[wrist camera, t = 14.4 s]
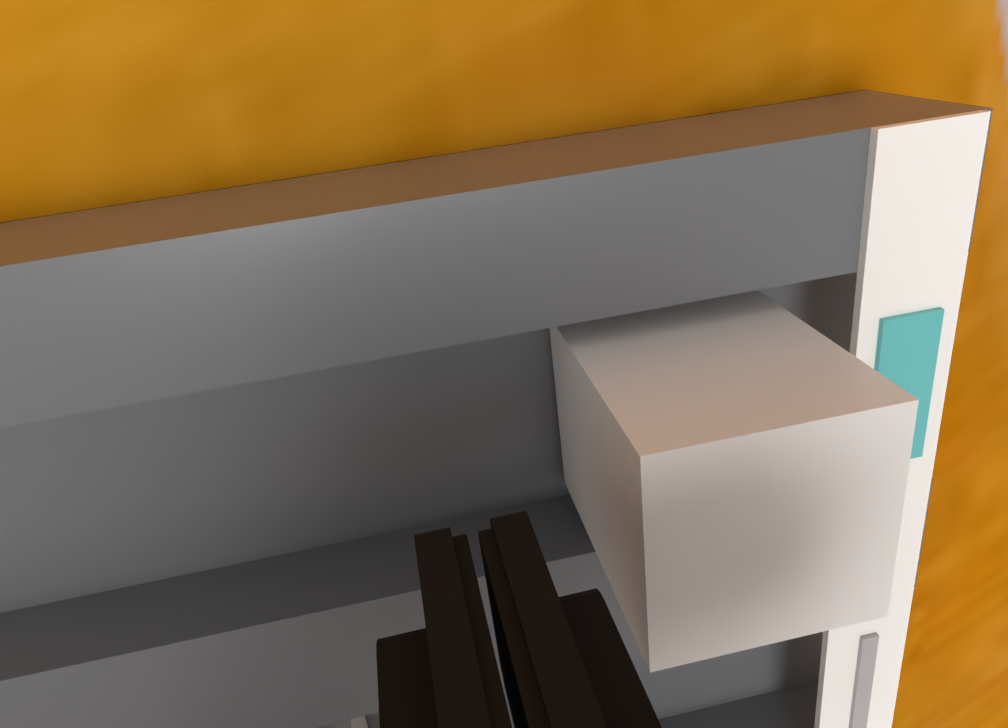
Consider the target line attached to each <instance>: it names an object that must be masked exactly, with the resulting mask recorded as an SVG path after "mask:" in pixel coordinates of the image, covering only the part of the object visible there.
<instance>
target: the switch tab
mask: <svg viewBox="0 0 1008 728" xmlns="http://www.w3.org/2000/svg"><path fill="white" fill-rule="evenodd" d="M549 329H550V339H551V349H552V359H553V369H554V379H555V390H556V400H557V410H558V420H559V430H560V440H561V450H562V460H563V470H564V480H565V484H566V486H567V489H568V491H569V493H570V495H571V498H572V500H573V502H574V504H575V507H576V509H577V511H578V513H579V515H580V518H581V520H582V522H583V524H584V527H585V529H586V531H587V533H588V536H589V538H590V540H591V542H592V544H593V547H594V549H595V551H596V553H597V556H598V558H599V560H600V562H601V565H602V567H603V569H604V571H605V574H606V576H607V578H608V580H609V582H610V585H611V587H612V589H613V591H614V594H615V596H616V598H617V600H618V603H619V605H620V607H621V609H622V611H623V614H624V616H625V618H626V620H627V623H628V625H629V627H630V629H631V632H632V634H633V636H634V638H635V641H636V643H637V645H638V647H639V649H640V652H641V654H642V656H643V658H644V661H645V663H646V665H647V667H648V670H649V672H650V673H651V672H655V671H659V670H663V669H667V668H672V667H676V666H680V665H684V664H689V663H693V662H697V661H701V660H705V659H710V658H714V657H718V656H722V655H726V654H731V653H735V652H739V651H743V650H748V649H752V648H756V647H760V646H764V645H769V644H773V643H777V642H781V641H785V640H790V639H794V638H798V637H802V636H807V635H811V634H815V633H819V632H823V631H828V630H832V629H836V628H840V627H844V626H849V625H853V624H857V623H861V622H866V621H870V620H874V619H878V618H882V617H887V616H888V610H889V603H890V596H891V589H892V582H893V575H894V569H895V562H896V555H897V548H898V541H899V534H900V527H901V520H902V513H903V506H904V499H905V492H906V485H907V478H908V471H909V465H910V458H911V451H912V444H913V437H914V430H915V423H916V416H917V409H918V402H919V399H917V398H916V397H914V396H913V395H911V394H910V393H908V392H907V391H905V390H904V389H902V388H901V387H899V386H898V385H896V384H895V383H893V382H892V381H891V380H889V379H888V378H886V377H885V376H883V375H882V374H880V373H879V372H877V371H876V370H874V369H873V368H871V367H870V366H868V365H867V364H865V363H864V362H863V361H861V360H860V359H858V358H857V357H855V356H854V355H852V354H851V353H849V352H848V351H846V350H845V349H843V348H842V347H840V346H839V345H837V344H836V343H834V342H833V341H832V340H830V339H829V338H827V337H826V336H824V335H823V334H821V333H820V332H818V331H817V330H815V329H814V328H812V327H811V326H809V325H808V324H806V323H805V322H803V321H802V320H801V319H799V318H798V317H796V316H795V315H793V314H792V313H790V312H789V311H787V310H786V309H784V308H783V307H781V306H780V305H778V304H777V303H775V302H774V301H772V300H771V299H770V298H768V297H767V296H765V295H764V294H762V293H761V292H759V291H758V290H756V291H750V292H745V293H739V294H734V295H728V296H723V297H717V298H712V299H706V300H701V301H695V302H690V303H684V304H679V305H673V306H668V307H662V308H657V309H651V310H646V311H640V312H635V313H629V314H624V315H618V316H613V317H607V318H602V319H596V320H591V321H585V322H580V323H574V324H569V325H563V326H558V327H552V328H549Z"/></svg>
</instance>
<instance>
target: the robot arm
mask: <svg viewBox="0 0 1008 728" xmlns="http://www.w3.org/2000/svg"><path fill="white" fill-rule="evenodd" d="M490 525H491V528H490V529H485V530H481V531H478V536H479V542H480V548H481V554H482V560H483V566H484V572H485V578H486V584H487V590H488V596H489V602H490V608H491V614H492V620H493V626H494V631H495V637H496V643H497V649H498V655H499V661H500V667H501V672H502V677H503V682H504V686H505V691H506V695H507V699H508V703H509V707H510V712H511V716H512V720H513V724H514V728H662V727H661V724H660V722H659V720H658V718H657V716H656V713H655V711H654V709H653V707H652V704H651V702H650V700H649V698H648V696H647V693H646V691H645V689H644V687H643V684H642V682H641V680H640V678H639V676H638V673H637V671H636V669H635V667H634V664H633V662H632V660H631V658H630V656H629V653H628V651H627V649H626V647H625V645H624V642H623V640H622V638H621V636H620V633H619V631H618V629H617V627H616V625H615V622H614V620H613V618H612V616H611V613H610V611H609V609H608V607H607V605H606V602H605V600H604V598H603V596H602V594H601V592H600V591H599V590H598V589H597V588H595V589H591V590H587V591H583V592H578V593H574V594H570V595H565V596H561V597H558V594H557V591H556V589H555V586H554V583H553V581H552V578H551V575H550V572H549V570H548V567H547V564H546V562H545V559H544V556H543V554H542V551H541V548H540V546H539V543H538V540H537V538H536V535H535V532H534V529H533V527H532V524H531V521H530V519H529V516H528V514H527V512H526V511H521V512H516V513H512V514H507V515H503V516H498V517H493V518H490ZM414 541H415V548H416V556H417V564H418V571H419V579H420V587H421V595H422V602H423V610H424V618H425V625H426V628H424V629H419V630H415V631H411V632H406V633H402V634H398V635H393V636H389V637H385V638H381V639H377V643H376V657H377V680H378V702H379V724H380V728H512V725H511V720H510V716H509V712H508V708H507V703H506V699H505V695H504V691H503V686H502V682H501V678H500V674H499V669H498V665H497V661H496V657H495V652H494V648H493V644H492V640H491V635H490V631H489V627H488V623H487V618H486V614H485V610H484V606H483V601H482V597H481V593H480V589H479V584H478V580H477V576H476V572H475V567H474V563H473V559H472V555H471V550H470V546H469V542H468V538H467V534H462V535H458V536H453V537H452V533H451V528H450V527H447V528H443V529H438V530H433V531H429V532H424V533H420V534H415V535H414Z"/></svg>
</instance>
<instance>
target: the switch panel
mask: <svg viewBox="0 0 1008 728" xmlns="http://www.w3.org/2000/svg"><path fill="white" fill-rule="evenodd" d="M992 109H993V108H988V107H981V106H974V105H967V104H960V103H953V102H945V101H938V100H931V99H924V98H917V97H910V96H903V95H895V94H888V93H881V92H874V91H867V90H863V91H857V92H850V93H844V94H837V95H831V96H824V97H818V98H811V99H805V100H798V101H791V102H785V103H778V104H772V105H765V106H759V107H752V108H746V109H739V110H733V111H726V112H720V113H713V114H707V115H700V116H694V117H687V118H681V119H674V120H668V121H661V122H655V123H648V124H642V125H635V126H629V127H622V128H616V129H609V130H603V131H596V132H590V133H583V134H577V135H570V136H564V137H557V138H551V139H544V140H538V141H531V142H525V143H518V144H511V145H505V146H498V147H492V148H485V149H479V150H472V151H466V152H459V153H453V154H446V155H440V156H433V157H427V158H420V159H414V160H407V161H401V162H394V163H388V164H381V165H375V166H368V167H362V168H355V169H349V170H342V171H336V172H329V173H323V174H316V175H310V176H303V177H297V178H290V179H284V180H277V181H271V182H264V183H258V184H251V185H245V186H238V187H231V188H225V189H218V190H212V191H205V192H199V193H192V194H186V195H179V196H173V197H166V198H160V199H153V200H147V201H140V202H134V203H127V204H121V205H114V206H108V207H101V208H95V209H88V210H82V211H75V212H69V213H62V214H56V215H49V216H43V217H36V218H30V219H23V220H17V221H10V222H4V223H0V728H314V727H318V726H322V725H326V724H331V723H335V722H339V721H343V720H348V719H352V718H356V717H361V716H365V718H366V722H367V725H368V728H380V724H379V702H378V680H377V657H376V643H377V639H381V638H385V637H389V636H393V635H398V634H402V633H406V632H411V631H415V630H419V629H424V628H426V625H425V618H424V610H423V602H422V595H421V587H420V579H419V571H418V564H417V556H416V548H415V541H414V535H415V534H420V533H424V532H429V531H433V530H438V529H443V528H447V527H450V528H451V533H452V537H453V536H458V535H462V534H467V538H468V542H469V546H470V550H471V555H472V559H473V563H474V567H475V572H476V576H477V580H478V584H479V589H480V593H481V597H482V601H483V606H484V610H485V614H486V618H487V623H488V627H489V631H490V635H491V640H492V644H493V648H494V652H495V657H496V661H497V665H498V669H499V674H500V678H501V682H502V686H503V691H504V695H505V699H506V703H507V708H508V712H509V716H510V720H511V725H512V728H514V724H513V720H512V716H511V712H510V707H509V703H508V699H507V695H506V691H505V686H504V682H503V677H502V672H501V667H500V661H499V655H498V649H497V643H496V637H495V631H494V626H493V620H492V614H491V608H490V602H489V596H488V590H487V584H486V578H485V572H484V566H483V560H482V554H481V548H480V542H479V536H478V531H481V530H485V529H490V528H491V525H490V518H493V517H498V516H503V515H507V514H512V513H516V512H521V511H526V512H527V514H528V516H529V519H530V521H531V524H532V527H533V529H534V532H535V535H536V538H537V540H538V543H539V546H540V548H541V551H542V554H543V556H544V559H545V562H546V564H547V567H548V570H549V572H550V575H551V578H552V581H553V583H554V586H555V589H556V591H557V594H558V597H561V596H565V595H570V594H574V593H578V592H583V591H587V590H591V589H595V588H597V589H598V590H599V591H600V592H601V594H602V596H603V598H604V600H605V602H606V605H607V607H608V609H609V611H610V613H611V616H612V618H613V620H614V622H615V625H616V627H617V629H618V631H619V633H620V636H621V638H622V640H623V642H624V645H625V647H626V649H627V651H628V653H629V656H630V658H631V660H632V662H633V664H634V667H635V669H636V671H637V673H638V676H639V678H640V680H641V682H642V684H643V687H644V689H645V691H646V693H647V696H648V698H649V700H650V702H651V704H652V707H653V709H654V711H655V713H656V716H657V718H658V720H659V722H660V724H661V727H662V728H891V727H892V721H893V714H894V708H895V702H896V696H897V690H898V683H899V677H900V671H901V665H902V659H903V653H904V646H905V640H906V634H907V628H908V622H909V615H910V609H911V603H912V597H913V591H914V587H915V584H916V578H917V572H918V565H919V559H920V553H921V547H922V541H923V535H924V528H925V522H926V516H927V510H928V504H929V498H930V491H931V485H932V473H933V467H934V460H935V454H936V448H937V442H938V436H939V429H940V423H941V417H942V411H943V405H944V399H945V392H946V386H947V380H948V374H949V368H950V361H951V355H952V349H953V343H954V337H955V330H956V324H957V318H958V312H959V306H960V299H961V293H962V287H963V281H964V275H965V268H966V262H967V256H968V252H969V251H970V245H971V238H972V232H973V226H974V220H975V214H976V208H977V201H978V195H979V189H980V183H981V177H982V171H983V164H984V158H985V152H986V146H987V140H988V134H989V127H990V121H991V115H992ZM756 290H758V291H759V292H761V293H762V294H764V295H765V296H767V297H768V298H770V299H771V300H772V301H774V302H775V303H777V304H778V305H780V306H781V307H783V308H784V309H786V310H787V311H789V312H790V313H792V314H793V315H795V316H796V317H798V318H799V319H801V320H802V321H803V322H805V323H806V324H808V325H809V326H811V327H812V328H814V329H815V330H817V331H818V332H820V333H821V334H823V335H824V336H826V337H827V338H829V339H830V340H832V341H833V342H834V343H836V344H837V345H839V346H840V347H842V348H843V349H845V350H846V351H848V352H849V353H851V354H852V355H854V356H855V357H857V358H858V359H860V360H861V361H863V362H864V363H865V364H867V365H868V366H870V367H871V368H873V369H874V370H876V371H877V372H879V373H880V374H882V375H883V376H885V377H886V378H888V379H889V380H891V381H892V382H893V383H895V384H896V385H898V386H899V387H901V388H902V389H904V390H905V391H907V392H908V393H910V394H911V395H913V396H914V397H916V398H917V399H919V402H918V409H917V416H916V423H915V430H914V437H913V444H912V451H911V458H910V465H909V471H908V478H907V485H906V492H905V499H904V506H903V513H902V520H901V527H900V534H899V541H898V548H897V555H896V562H895V569H894V575H893V582H892V589H891V596H890V603H889V610H888V616H887V617H882V618H878V619H874V620H870V621H866V622H861V623H857V624H853V625H849V626H844V627H840V628H836V629H832V630H828V631H823V632H819V633H815V634H811V635H807V636H802V637H798V638H794V639H790V640H785V641H781V642H777V643H773V644H769V645H764V646H760V647H756V648H752V649H748V650H743V651H739V652H735V653H731V654H726V655H722V656H718V657H714V658H710V659H705V660H701V661H697V662H693V663H689V664H684V665H680V666H676V667H672V668H667V669H663V670H659V671H655V672H651V673H650V672H649V670H648V667H647V665H646V663H645V661H644V658H643V656H642V654H641V652H640V649H639V647H638V645H637V643H636V641H635V638H634V636H633V634H632V632H631V629H630V627H629V625H628V623H627V620H626V618H625V616H624V614H623V611H622V609H621V607H620V605H619V603H618V600H617V598H616V596H615V594H614V591H613V589H612V587H611V585H610V582H609V580H608V578H607V576H606V574H605V571H604V569H603V567H602V565H601V562H600V560H599V558H598V556H597V553H596V551H595V549H594V547H593V544H592V542H591V540H590V538H589V536H588V533H587V531H586V529H585V527H584V524H583V522H582V520H581V518H580V515H579V513H578V511H577V509H576V507H575V504H574V502H573V500H572V498H571V495H570V493H569V491H568V489H567V486H566V484H565V480H564V470H563V460H562V450H561V440H560V430H559V420H558V410H557V400H556V390H555V379H554V369H553V359H552V349H551V339H550V329H549V328H552V327H558V326H563V325H569V324H574V323H580V322H585V321H591V320H596V319H602V318H607V317H613V316H618V315H624V314H629V313H635V312H640V311H646V310H651V309H657V308H662V307H668V306H673V305H679V304H684V303H690V302H695V301H701V300H706V299H712V298H717V297H723V296H728V295H734V294H739V293H745V292H750V291H756Z"/></svg>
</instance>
